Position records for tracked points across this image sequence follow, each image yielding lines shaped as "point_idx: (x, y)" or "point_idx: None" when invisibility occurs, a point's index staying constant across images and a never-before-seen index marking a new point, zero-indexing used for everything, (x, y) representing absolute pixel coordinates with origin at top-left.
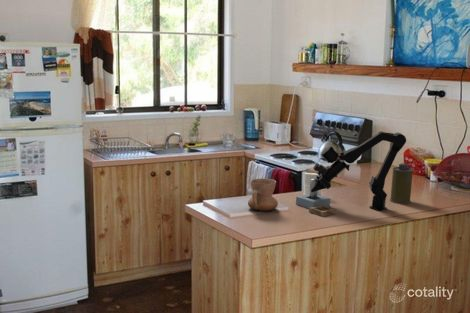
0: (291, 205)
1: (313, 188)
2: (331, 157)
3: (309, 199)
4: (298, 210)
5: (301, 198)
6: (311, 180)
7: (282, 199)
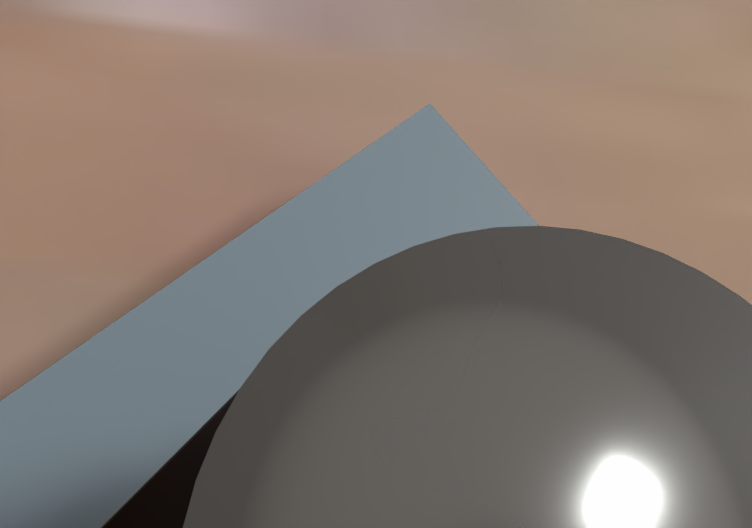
0: (330, 98)
1: (178, 461)
2: None
3: (189, 364)
4: (5, 169)
5: (299, 195)
6: (336, 305)
7: (684, 13)
